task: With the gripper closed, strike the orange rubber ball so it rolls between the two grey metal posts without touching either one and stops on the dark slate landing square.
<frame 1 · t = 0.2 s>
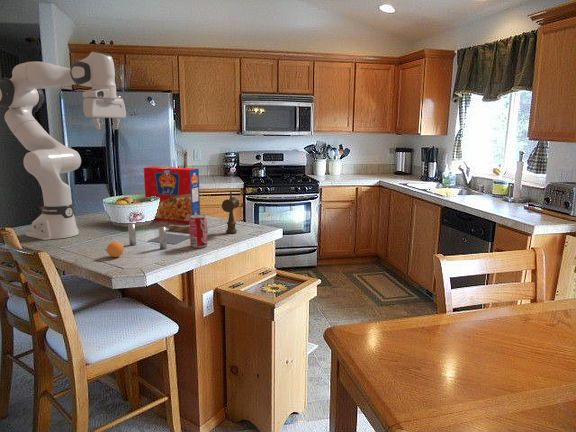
hand: (107, 129, 174), 48 cm above the table, fingers open, 8 cm apart
kendama: (231, 233, 201), on the table
right post: (163, 248, 174), on the table
ball: (115, 249, 162), on the table
soda can: (199, 246, 178), on the table
left post: (132, 244, 179), on the table
pasta box: (173, 221, 226), on the table
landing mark: (170, 238, 189), on the table
stopper wall: (187, 231, 202), on the table
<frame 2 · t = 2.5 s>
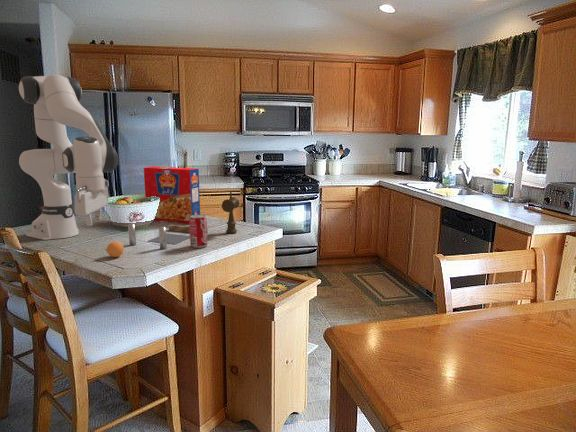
hand: (93, 223, 150), 15 cm above the table, fingers open, 5 cm apart
nothing on the table moved.
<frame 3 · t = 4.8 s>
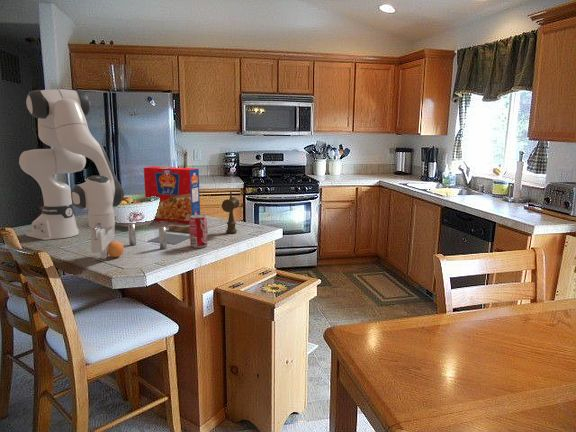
hand: (104, 257, 157), 1 cm above the table, fingers closed
ball: (115, 249, 162), on the table, touching gripper
everything else where it was.
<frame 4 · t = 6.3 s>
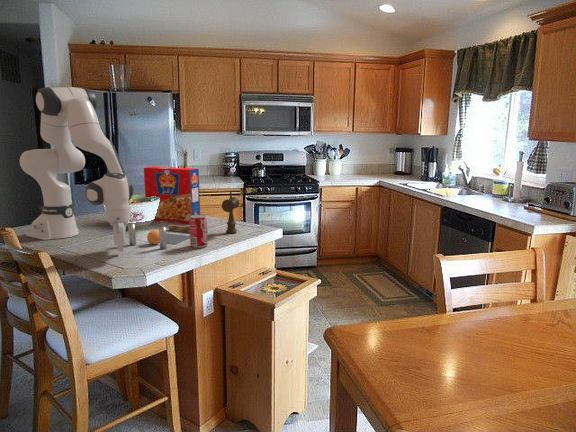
hand: (121, 250, 165), 2 cm above the table, fingers closed
ball: (154, 237, 180), on the table
everything else where it was.
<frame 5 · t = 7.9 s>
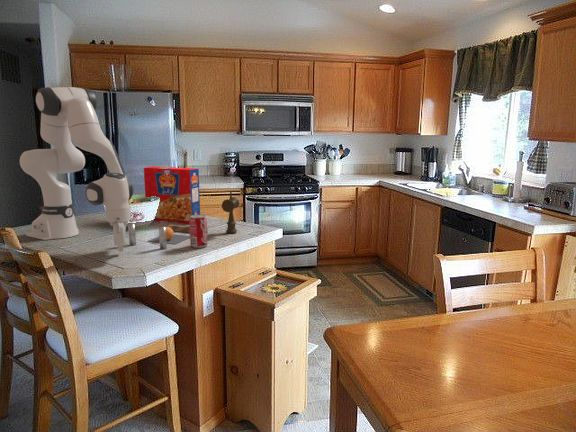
hand: (121, 250, 165), 2 cm above the table, fingers closed
ball: (166, 233, 186), on the table
everything else where it was.
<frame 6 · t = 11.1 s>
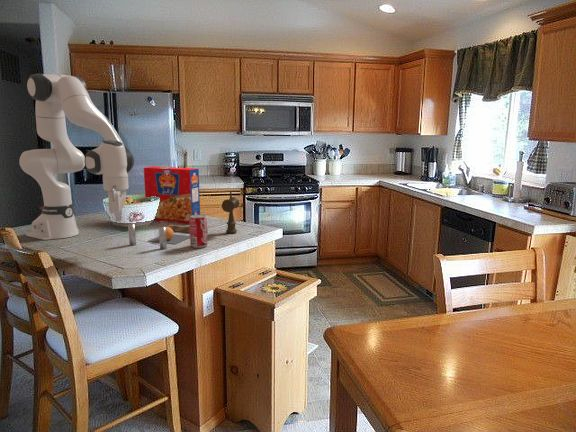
hand: (118, 220, 162), 14 cm above the table, fingers closed
nothing on the table moved.
at the end: ball 2.5 cm from the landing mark (horizontally); ball never touched left post; ball never touched right post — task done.
